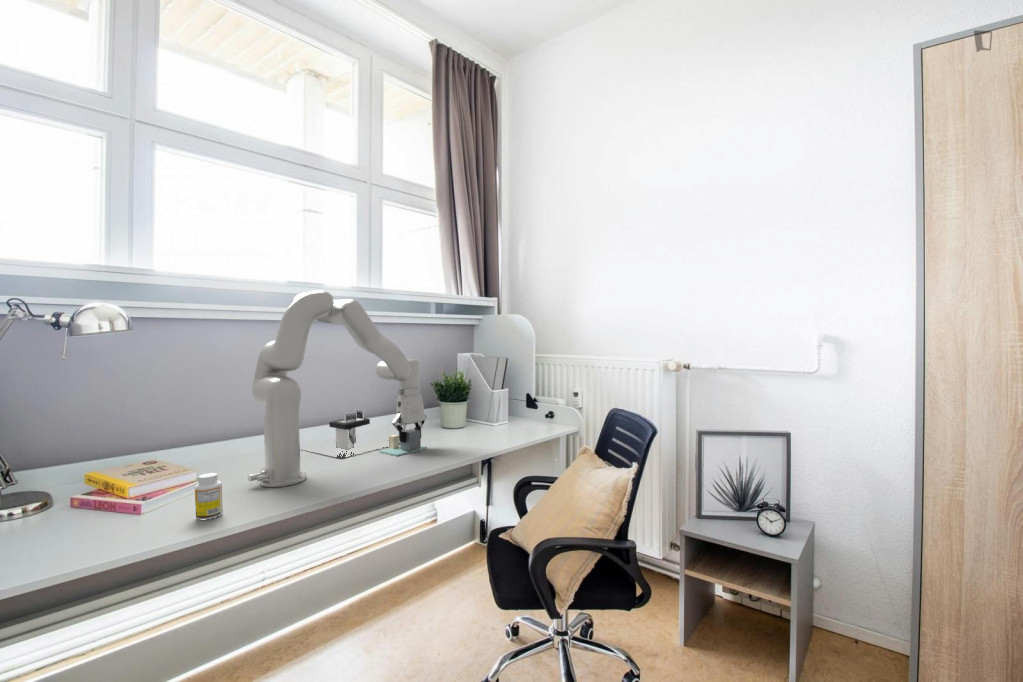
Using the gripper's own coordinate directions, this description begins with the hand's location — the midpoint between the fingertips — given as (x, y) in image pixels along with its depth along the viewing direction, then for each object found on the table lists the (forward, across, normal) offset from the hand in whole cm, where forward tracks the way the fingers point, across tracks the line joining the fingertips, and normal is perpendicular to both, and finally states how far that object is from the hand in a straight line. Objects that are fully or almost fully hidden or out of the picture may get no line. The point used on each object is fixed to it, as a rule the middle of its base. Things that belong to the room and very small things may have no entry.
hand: (410, 439), depth 179 cm
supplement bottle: (+4, -71, -9) cm, 72 cm away
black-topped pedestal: (+4, -8, +25) cm, 27 cm away
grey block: (+3, 0, 0) cm, 3 cm away
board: (+4, -1, +3) cm, 5 cm away
